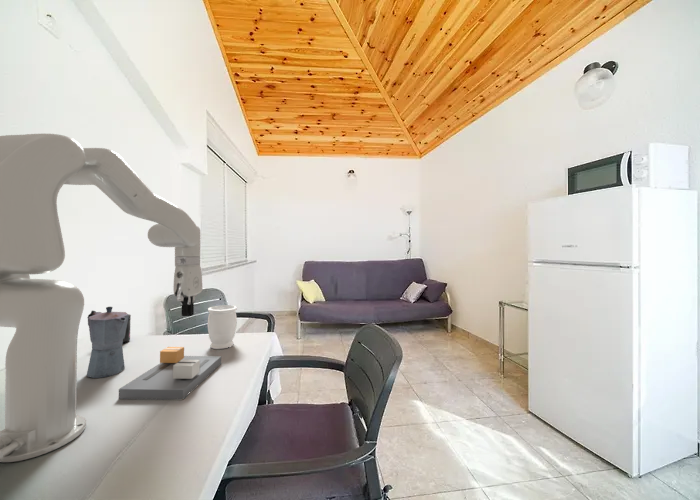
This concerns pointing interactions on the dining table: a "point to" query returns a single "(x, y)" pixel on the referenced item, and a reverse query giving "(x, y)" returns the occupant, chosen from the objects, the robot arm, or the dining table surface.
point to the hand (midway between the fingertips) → (187, 315)
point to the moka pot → (106, 342)
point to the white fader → (186, 369)
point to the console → (168, 381)
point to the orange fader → (171, 354)
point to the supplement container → (127, 331)
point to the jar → (222, 326)
